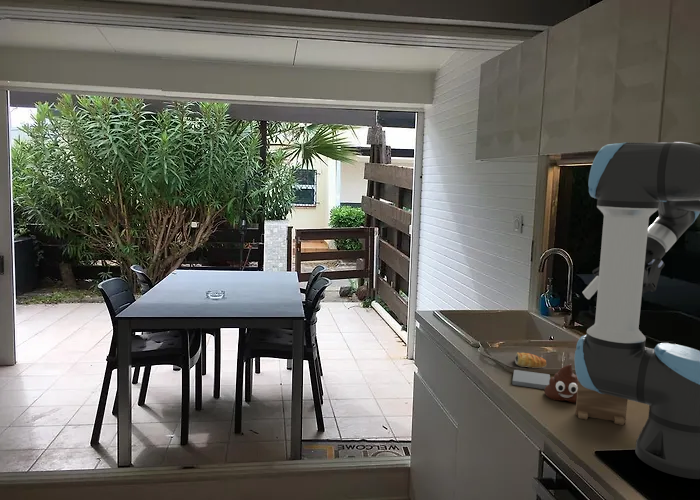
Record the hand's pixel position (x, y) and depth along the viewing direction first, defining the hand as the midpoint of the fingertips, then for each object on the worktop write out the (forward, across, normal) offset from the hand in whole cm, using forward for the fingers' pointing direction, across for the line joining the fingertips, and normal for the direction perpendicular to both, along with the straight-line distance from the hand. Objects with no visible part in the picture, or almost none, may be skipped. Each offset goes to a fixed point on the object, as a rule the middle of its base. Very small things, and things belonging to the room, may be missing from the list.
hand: (603, 301), depth 150 cm
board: (+26, +13, -10) cm, 31 cm away
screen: (+25, -13, -11) cm, 31 cm away
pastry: (+20, +26, -17) cm, 37 cm away
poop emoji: (+25, 0, -11) cm, 28 cm away
